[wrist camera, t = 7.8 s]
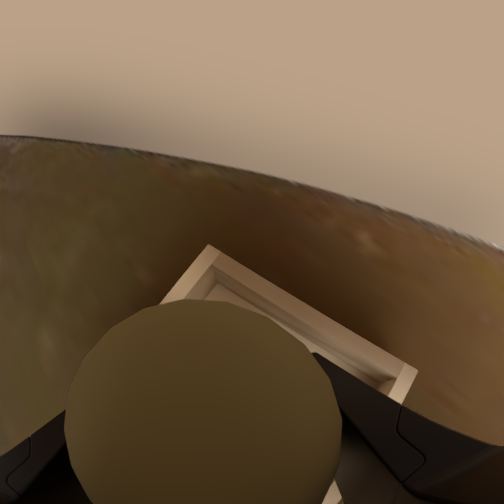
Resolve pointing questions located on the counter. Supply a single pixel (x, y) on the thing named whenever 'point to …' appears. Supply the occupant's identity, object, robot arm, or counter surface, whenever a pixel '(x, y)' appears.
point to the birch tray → (294, 324)
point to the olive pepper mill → (202, 411)
